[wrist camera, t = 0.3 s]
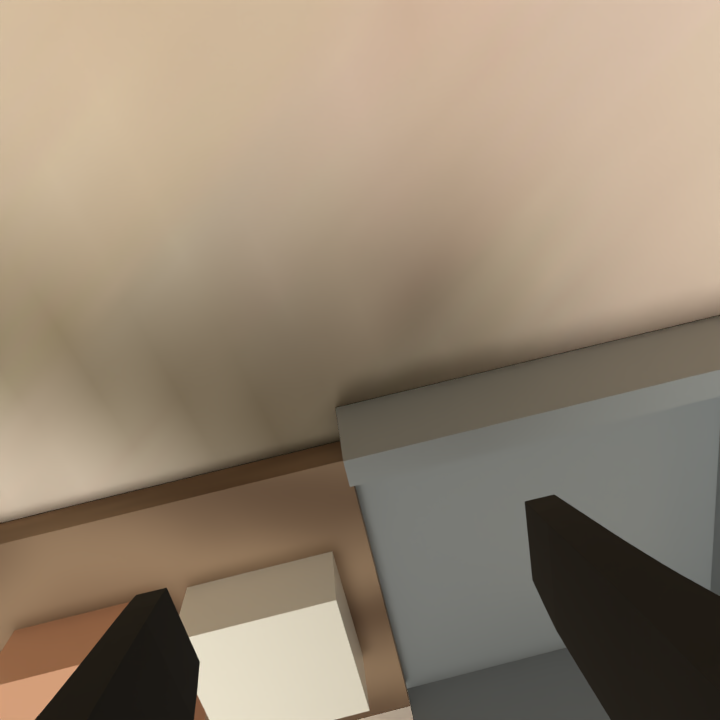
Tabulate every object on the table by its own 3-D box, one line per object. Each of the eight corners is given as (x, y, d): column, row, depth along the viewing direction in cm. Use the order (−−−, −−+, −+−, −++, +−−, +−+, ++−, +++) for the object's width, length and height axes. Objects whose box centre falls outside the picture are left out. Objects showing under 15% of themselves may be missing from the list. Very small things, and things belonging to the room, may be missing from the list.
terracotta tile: (209, 694, 22) (198, 755, 20) (76, 728, 22) (49, 793, 19) (162, 593, 20) (143, 648, 18) (14, 630, 20) (-25, 690, 17)
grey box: (722, 615, 26) (792, 688, 22) (409, 696, 26) (427, 784, 22) (743, 309, 20) (844, 339, 16) (335, 407, 20) (343, 461, 16)
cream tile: (362, 654, 22) (369, 710, 20) (231, 688, 22) (223, 748, 20) (332, 551, 20) (336, 600, 18) (187, 587, 20) (171, 641, 18)
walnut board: (404, 676, 25) (410, 705, 24) (92, 756, 25) (79, 791, 23) (343, 440, 20) (346, 459, 19) (-49, 535, 20) (-75, 562, 18)
